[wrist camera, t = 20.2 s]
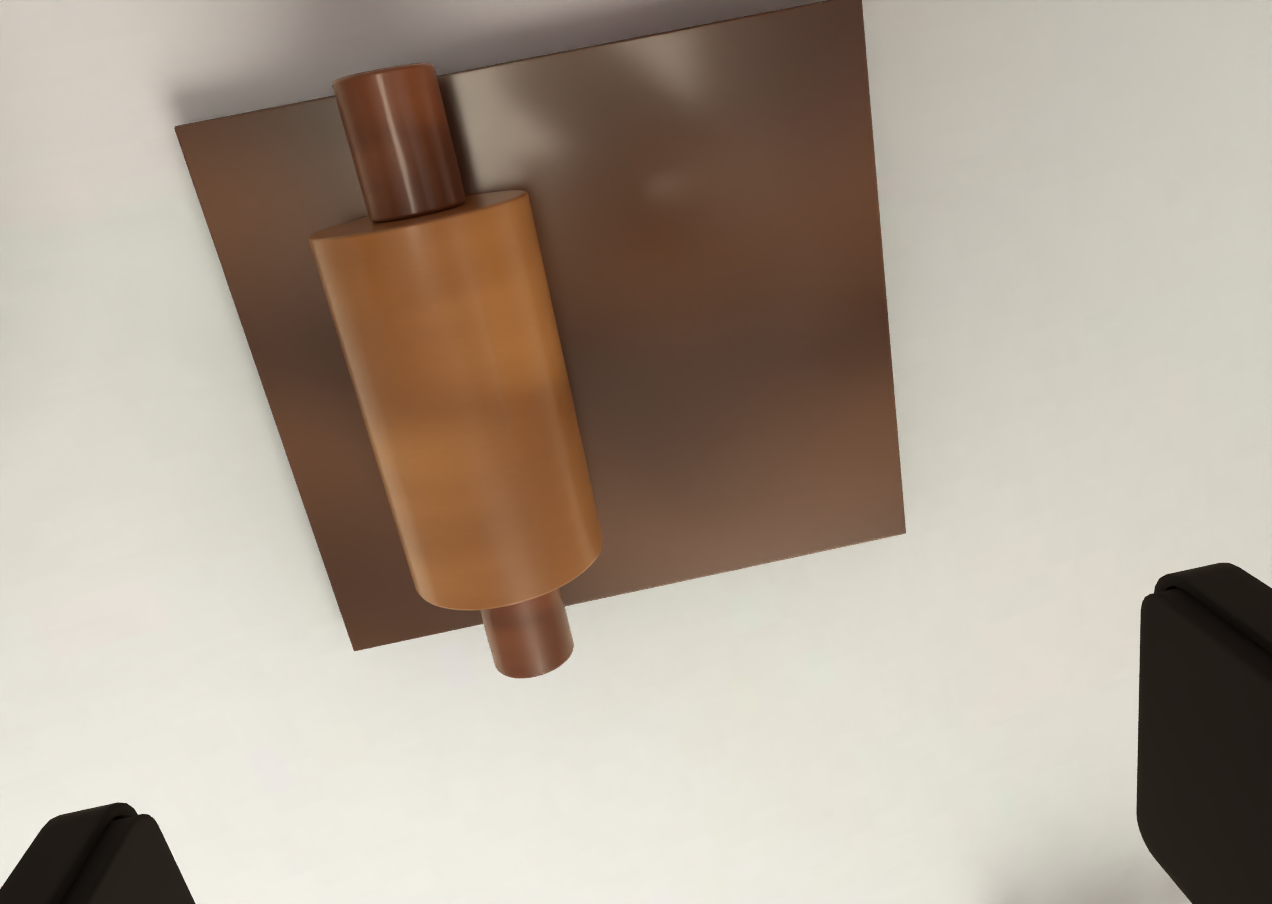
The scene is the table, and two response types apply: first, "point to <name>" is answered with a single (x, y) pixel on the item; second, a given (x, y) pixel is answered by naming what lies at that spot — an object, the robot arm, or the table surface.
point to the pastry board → (614, 297)
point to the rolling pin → (459, 374)
